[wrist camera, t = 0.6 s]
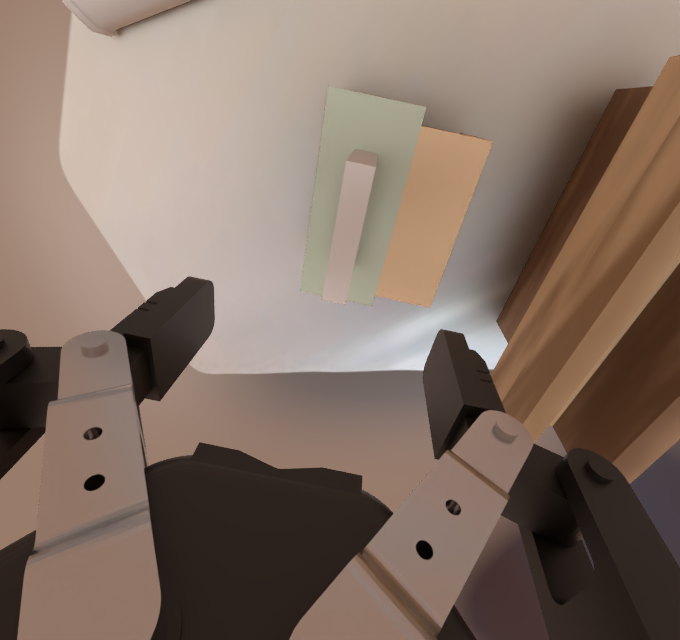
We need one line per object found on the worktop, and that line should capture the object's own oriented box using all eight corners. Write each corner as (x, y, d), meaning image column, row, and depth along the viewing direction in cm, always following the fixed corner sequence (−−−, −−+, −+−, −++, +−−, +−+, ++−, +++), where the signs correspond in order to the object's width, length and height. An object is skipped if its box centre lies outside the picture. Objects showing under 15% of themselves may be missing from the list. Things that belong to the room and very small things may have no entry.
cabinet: (465, 119, 29) (539, 127, 15) (415, 269, 36) (435, 364, 23) (344, 92, 29) (309, 77, 15) (319, 248, 36) (281, 331, 23)
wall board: (715, 111, 27) (1293, 114, 10) (565, 336, 38) (709, 515, 21) (560, 77, 27) (870, 20, 10) (457, 313, 38) (516, 473, 21)
